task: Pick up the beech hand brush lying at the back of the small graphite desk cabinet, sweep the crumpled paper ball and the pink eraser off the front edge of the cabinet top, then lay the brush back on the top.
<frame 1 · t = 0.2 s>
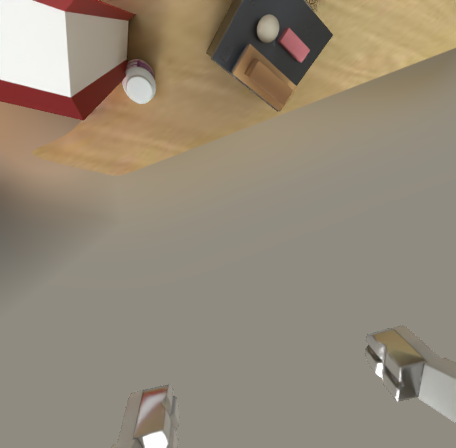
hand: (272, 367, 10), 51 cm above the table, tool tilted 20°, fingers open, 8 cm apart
brush: (260, 77, 40), point 10 cm above the table, touching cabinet
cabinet: (256, 43, 45), on the table
eraser: (292, 45, 38), point 10 cm above the table, touching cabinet
paper ball: (264, 29, 36), point 10 cm above the table, touching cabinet
pill bottle: (139, 75, 45), on the table, touching book
book: (42, 12, 38), on the table, touching pill bottle
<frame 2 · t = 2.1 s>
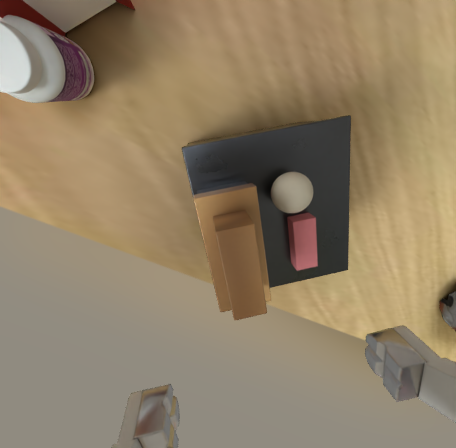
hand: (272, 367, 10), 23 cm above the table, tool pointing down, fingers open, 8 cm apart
brush: (230, 238, 21), point 10 cm above the table, touching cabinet
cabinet: (251, 191, 30), on the table
eraser: (299, 238, 22), point 10 cm above the table, touching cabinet
paper ball: (284, 188, 20), point 10 cm above the table, touching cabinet
pill bottle: (66, 69, 24), on the table, touching book
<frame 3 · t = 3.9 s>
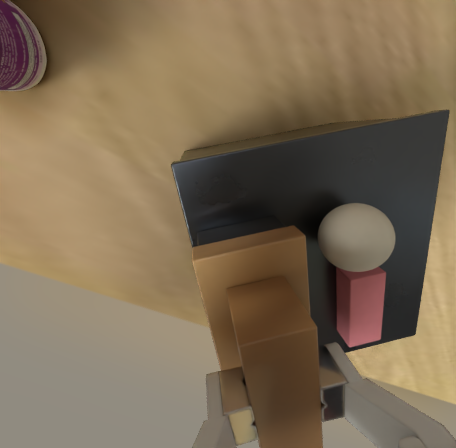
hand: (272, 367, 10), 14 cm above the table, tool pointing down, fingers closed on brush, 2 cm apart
brush: (249, 300, 14), point 10 cm above the table, touching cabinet, gripper
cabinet: (269, 213, 23), on the table
eraser: (351, 296, 15), point 10 cm above the table, touching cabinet
paper ball: (335, 225, 13), point 10 cm above the table, touching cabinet
pill bottle: (5, 45, 16), on the table, touching book
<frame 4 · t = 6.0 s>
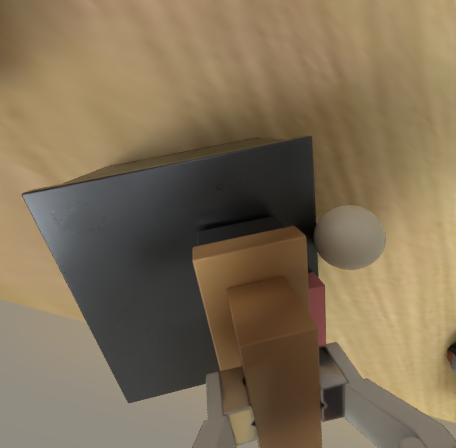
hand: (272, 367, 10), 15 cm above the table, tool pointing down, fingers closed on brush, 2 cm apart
brush: (249, 300, 14), point 10 cm above the table, touching eraser, gripper
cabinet: (200, 227, 23), on the table
eraser: (299, 307, 15), point 10 cm above the table, touching brush
paper ball: (384, 237, 12), point 12 cm above the table, tilted 115°, touching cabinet
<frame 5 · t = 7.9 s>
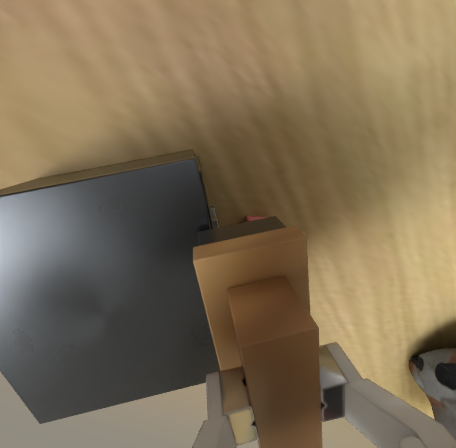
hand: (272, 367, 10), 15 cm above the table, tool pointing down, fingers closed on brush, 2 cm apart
brush: (249, 300, 14), point 10 cm above the table, touching gripper
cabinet: (141, 239, 23), on the table
lucky cat figurine: (443, 358, 35), on the table
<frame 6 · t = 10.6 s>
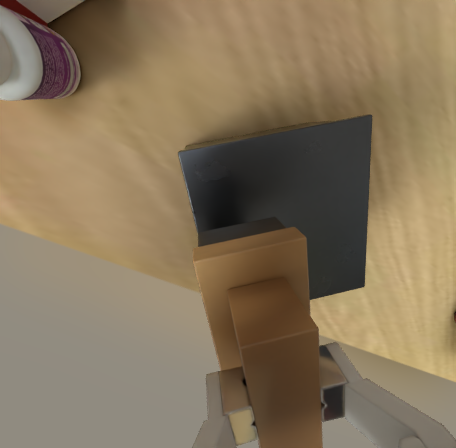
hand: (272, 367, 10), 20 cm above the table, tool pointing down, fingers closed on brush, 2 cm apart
brush: (249, 300, 14), point 15 cm above the table, touching gripper
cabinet: (255, 197, 28), on the table
pill bottle: (49, 64, 21), on the table, touching book
when the fingers open (14 cm above the table, at t = 12.2 s): brush stays where it is, resting on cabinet.
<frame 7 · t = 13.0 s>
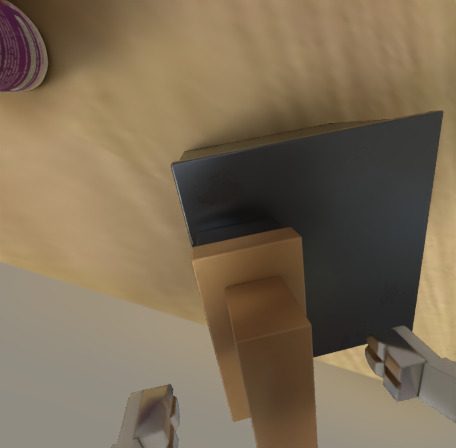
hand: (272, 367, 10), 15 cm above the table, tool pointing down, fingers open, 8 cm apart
brush: (247, 299, 14), point 10 cm above the table, touching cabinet
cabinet: (268, 213, 23), on the table
pill bottle: (7, 47, 16), on the table, touching book
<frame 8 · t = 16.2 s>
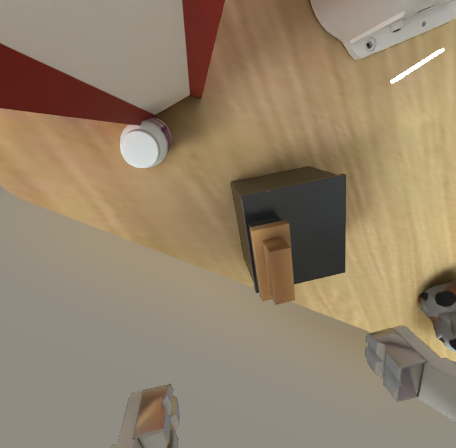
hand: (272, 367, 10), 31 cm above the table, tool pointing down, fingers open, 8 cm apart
brush: (267, 252, 32), point 10 cm above the table, touching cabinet
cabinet: (274, 214, 41), on the table
lucky cat figurine: (440, 297, 54), on the table
pill bottle: (152, 136, 34), on the table, touching book
book: (115, 2, 29), on the table, touching pill bottle
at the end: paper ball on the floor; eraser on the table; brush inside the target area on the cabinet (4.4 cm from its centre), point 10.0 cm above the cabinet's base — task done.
